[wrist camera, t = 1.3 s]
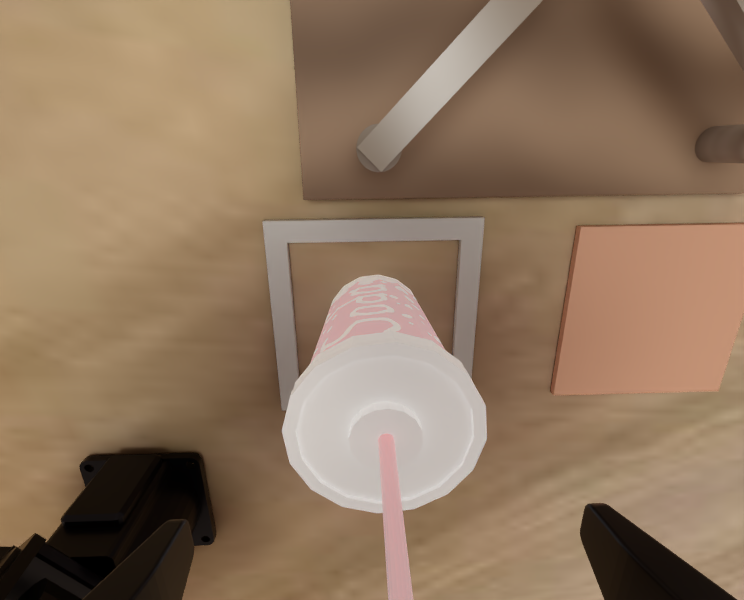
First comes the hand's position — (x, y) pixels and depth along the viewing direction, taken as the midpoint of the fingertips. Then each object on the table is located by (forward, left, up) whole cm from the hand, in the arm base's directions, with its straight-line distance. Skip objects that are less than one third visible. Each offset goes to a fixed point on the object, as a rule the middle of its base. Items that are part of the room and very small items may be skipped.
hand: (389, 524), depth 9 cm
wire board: (+12, -7, -12) cm, 18 cm away
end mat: (0, -14, -12) cm, 19 cm away
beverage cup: (0, 0, -12) cm, 12 cm away
